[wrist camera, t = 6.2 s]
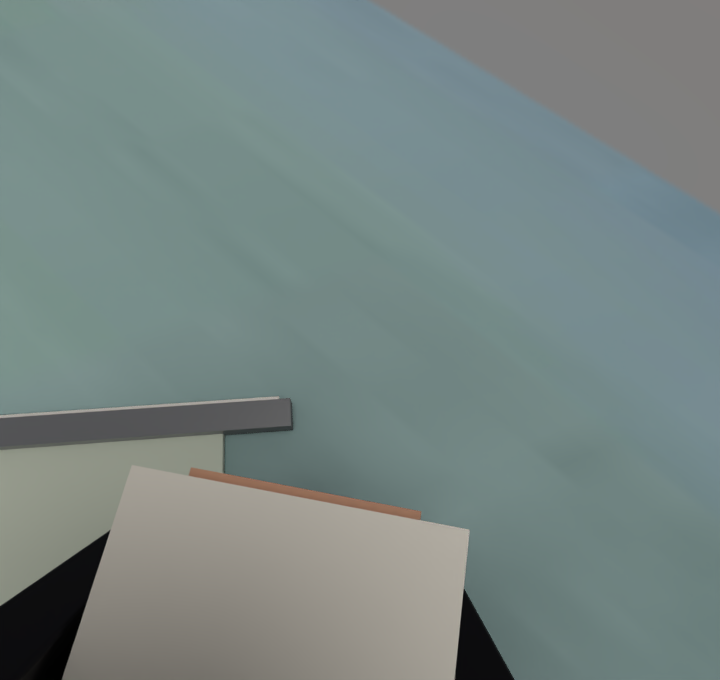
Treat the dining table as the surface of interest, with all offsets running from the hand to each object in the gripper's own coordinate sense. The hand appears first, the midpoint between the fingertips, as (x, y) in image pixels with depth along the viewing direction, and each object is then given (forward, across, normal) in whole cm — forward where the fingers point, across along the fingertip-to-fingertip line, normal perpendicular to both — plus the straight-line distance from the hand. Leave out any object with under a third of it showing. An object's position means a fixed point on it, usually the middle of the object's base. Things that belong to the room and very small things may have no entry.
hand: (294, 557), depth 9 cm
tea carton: (+4, 0, +6) cm, 7 cm away
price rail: (+11, +10, +8) cm, 17 cm away
